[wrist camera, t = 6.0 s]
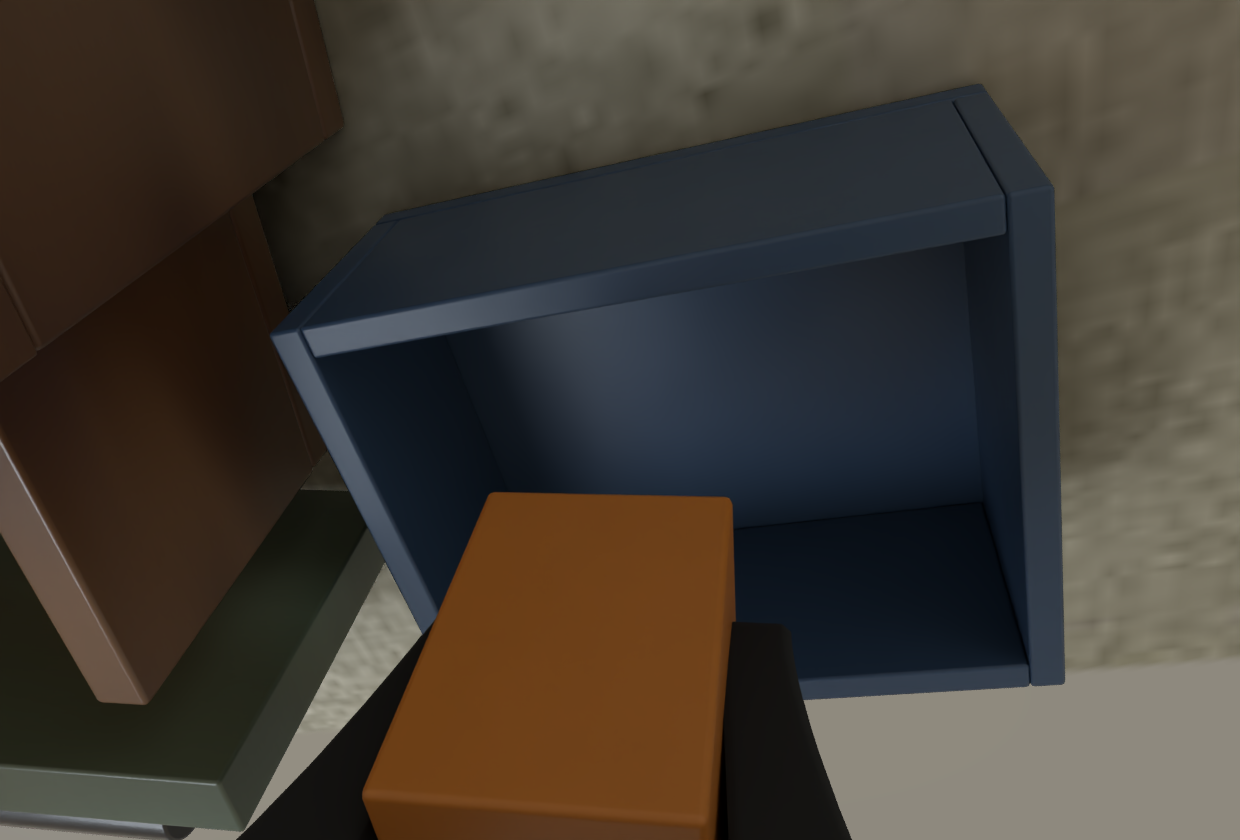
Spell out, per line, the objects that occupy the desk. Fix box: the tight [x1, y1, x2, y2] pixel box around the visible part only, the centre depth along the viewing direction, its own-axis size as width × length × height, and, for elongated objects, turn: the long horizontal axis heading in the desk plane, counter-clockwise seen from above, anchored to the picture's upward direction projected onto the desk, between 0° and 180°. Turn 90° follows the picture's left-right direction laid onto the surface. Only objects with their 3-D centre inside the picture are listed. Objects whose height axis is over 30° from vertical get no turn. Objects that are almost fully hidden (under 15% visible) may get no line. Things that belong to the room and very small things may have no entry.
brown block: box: [362, 492, 736, 840], centre depth 10 cm, size 4×3×4 cm, turn 5°
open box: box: [270, 84, 1065, 700], centre depth 15 cm, size 10×8×4 cm
